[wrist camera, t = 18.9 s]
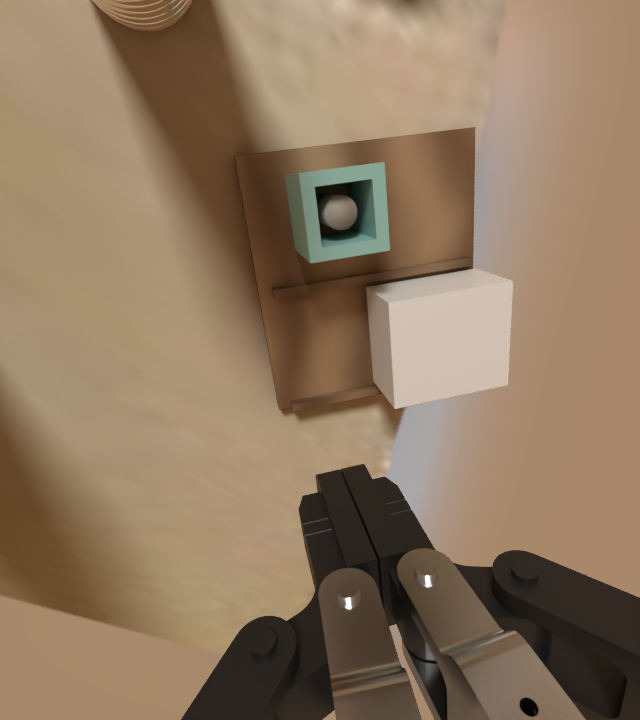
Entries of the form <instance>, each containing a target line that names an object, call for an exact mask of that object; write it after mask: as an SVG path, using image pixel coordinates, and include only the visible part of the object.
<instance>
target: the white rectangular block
mask: <svg viewBox="0 0 640 720" xmlns="http://www.w3.org/2000/svg"><path fill="white" fill-rule="evenodd" d="M512 291H513V281H511V280H508V279H505V278H502V277H499V276H496V275H493V274H491V273H488V272H485V271H481V270H479V269H476V268H474V269H469V270H463V271H457V272H451V273H445V274H439V275H433V276H427V277H421V278H415V279H410V280H404V281H398V282H392V283H386V284H380V285H374V286H368V287H366V295H367V308H368V320H369V333H370V346H371V358H372V371H373V382H374V383H375V384H376V385H377V387H378V388H379V389H380V391H381V392H382V393H383V394H384V396H385V397H386V398H387V400H388V401H389V402H390V403H391V405H392V406H393V407H394V409H398V408H402V407H407V406H412V405H417V404H421V403H426V402H431V401H435V400H440V399H445V398H449V397H454V396H459V395H463V394H468V393H473V392H478V391H482V390H487V389H492V388H496V387H501V386H506V385H508V371H509V351H510V330H511V310H512Z"/></svg>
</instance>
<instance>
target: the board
mask: <svg viewBox="0 0 640 720" xmlns="http://www.w3.org/2000/svg"><path fill="white" fill-rule="evenodd" d="M380 162H385V176H386V193H387V209H388V225H389V242H390V251H384V252H378V253H371V254H365V255H359V256H353V257H347V258H341V259H335V260H329V261H323V262H317V263H309V262H308V261H307V260H306V259H305V258H304V257H303V256H302V255H300V254H299V253H298V252H297V251H296V250H295V246H294V239H293V232H292V225H291V218H290V211H289V204H288V197H287V190H286V183H285V176H284V175H289V174H297V173H304V172H312V171H319V170H327V169H334V168H341V167H349V166H356V165H364V164H372V163H380ZM235 163H236V169H237V174H238V180H239V186H240V191H241V197H242V203H243V209H244V214H245V220H246V226H247V231H248V237H249V243H250V249H251V254H252V260H253V266H254V271H255V277H256V283H257V289H258V294H259V300H260V306H261V311H262V317H263V323H264V328H265V334H266V340H267V346H268V351H269V357H270V363H271V368H272V374H273V380H274V386H275V391H276V397H277V403H278V407H279V410H281V409H286V408H290V407H291V408H292V411H293V412H295V411H299V410H304V409H309V408H314V407H319V406H324V405H328V404H333V403H338V402H343V401H348V400H353V399H357V398H362V397H367V396H372V395H377V394H382V392H381V391H380V389H379V388H378V387H377V385H376V384H375V383H374V382H373V371H372V358H371V346H370V333H369V320H368V308H367V295H366V287H368V286H374V285H380V284H386V283H392V282H398V281H404V280H410V279H415V278H421V277H427V276H433V275H439V274H445V273H451V272H457V271H463V270H469V269H473V237H474V171H475V127H473V128H465V129H456V130H448V131H440V132H431V133H423V134H415V135H406V136H398V137H390V138H381V139H373V140H365V141H356V142H348V143H340V144H331V145H323V146H315V147H306V148H298V149H290V150H281V151H273V152H265V153H256V154H248V155H240V156H235ZM315 194H316V202H317V211H318V219H319V227H320V234H326V233H332V232H338V231H345V230H350V227H351V226H352V225H353V224H354V222H355V220H356V218H357V207H356V204H355V202H354V201H353V200H352V199H351V198H350V197H348V196H347V190H346V183H339V184H332V185H325V186H318V187H315Z"/></svg>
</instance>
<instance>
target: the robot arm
mask: <svg viewBox="0 0 640 720" xmlns="http://www.w3.org/2000/svg"><path fill="white" fill-rule="evenodd" d="M316 483H317V490H318V493H313V494H309V495H305V496H303V497H302V500H301V503H300V507H299V514H300V520H301V526H302V532H303V538H304V543H305V549H306V553H307V557H308V562H309V566H310V570H311V574H312V579H313V583H314V587H315V593H314V596H313V598H312V600H311V602H310V603H309V604H308V605H307V607H306V608H305V609H304V610H303V611H301V612H300V613H298V614H297V615H295V616H294V617H292V618H291V619H289V620H288V621H285V620H284V619H282V618H280V617H276V616H264V617H259V618H257V619H254V620H253V621H251V622H249V623H248V624H246V625H245V626H244V627H243V628H242V629H241V630H240V631H239V633H238V634H237V635H236V637H235V638H234V640H233V642H232V643H231V645H230V646H229V648H228V649H227V651H226V652H225V654H224V655H223V657H222V658H221V660H220V661H219V663H218V665H217V666H216V667H215V669H214V670H213V672H212V673H211V675H210V677H209V678H208V679H207V681H206V683H205V684H204V686H203V687H202V689H201V690H200V692H199V693H198V695H197V696H196V698H195V699H194V701H193V702H192V704H191V705H190V707H189V708H188V710H187V711H186V713H185V714H184V716H183V717H182V719H181V720H322V719H323V718H325V717H326V716H327V715H328V714H330V713H331V712H332V711H334V710H335V714H336V720H422V719H421V715H420V712H419V709H418V706H417V703H416V699H415V696H414V693H413V689H412V686H411V683H410V680H409V677H408V674H407V672H406V670H405V668H402V667H401V664H400V662H399V658H398V655H397V652H396V649H395V645H394V642H393V638H392V635H391V631H390V628H389V626H391V625H394V624H397V626H398V629H399V631H400V634H401V637H402V648H403V654H404V656H405V659H406V661H407V663H408V665H409V667H410V669H411V671H412V673H413V675H414V678H415V680H416V682H417V684H418V686H419V688H420V690H421V692H422V694H423V697H424V699H425V701H426V703H427V705H428V707H429V709H430V711H431V713H432V715H433V717H434V720H640V598H639V597H636V596H634V595H631V594H629V593H627V592H624V591H622V590H619V589H617V588H615V587H612V586H610V585H608V584H605V583H603V582H600V581H598V580H595V579H593V578H591V577H588V576H586V575H583V574H581V573H579V572H576V571H574V570H571V569H569V568H566V567H564V566H562V565H559V564H557V563H555V562H552V561H549V560H547V559H545V558H542V557H540V556H538V555H535V554H533V553H529V552H526V551H519V550H515V551H514V550H512V551H507V552H504V553H502V554H500V555H499V556H498V557H497V558H496V559H495V560H494V563H493V567H471V566H463V565H458V564H455V563H453V562H452V561H451V560H450V559H449V558H448V557H447V556H446V555H444V554H443V553H441V552H439V551H436V550H435V548H434V547H433V545H432V544H431V542H430V540H429V538H428V537H427V535H426V533H425V532H424V530H423V529H422V527H421V525H420V523H419V522H418V520H417V518H416V517H415V515H414V513H413V511H411V509H410V506H409V504H408V503H407V501H406V500H405V498H404V496H403V494H402V493H401V491H400V489H399V488H398V486H397V485H396V484H394V483H393V482H391V481H390V480H389V479H387V478H386V477H381V478H377V479H373V480H372V478H371V476H370V474H369V472H368V470H367V468H366V466H365V465H364V464H361V465H357V466H352V467H348V468H344V469H340V470H335V471H331V472H327V473H322V474H318V475H316Z"/></svg>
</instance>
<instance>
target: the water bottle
mask: <svg viewBox="0 0 640 720" xmlns="http://www.w3.org/2000/svg"><path fill="white" fill-rule="evenodd" d="M92 1H93V2H94V3H95V4H96V5H97V6H98V7H99V8H100V9H101V10H102V11H103V12H104V13H105V14H106V15H108V16H109V17H110V18H112V19H113V20H115V21H116V22H118V23H120V24H122V25H124V26H126V27H129V28H131V29H135V30H139V31H158V30H162V29H165V28H168V27H170V26H171V25H173V24H175V23H176V22H177V21H179V20H180V19H181V18H182V17H183V16H184V14H185V13H186V12H187V10H188V9H189V7H190V5H191V3H192V1H193V0H92Z"/></svg>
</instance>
